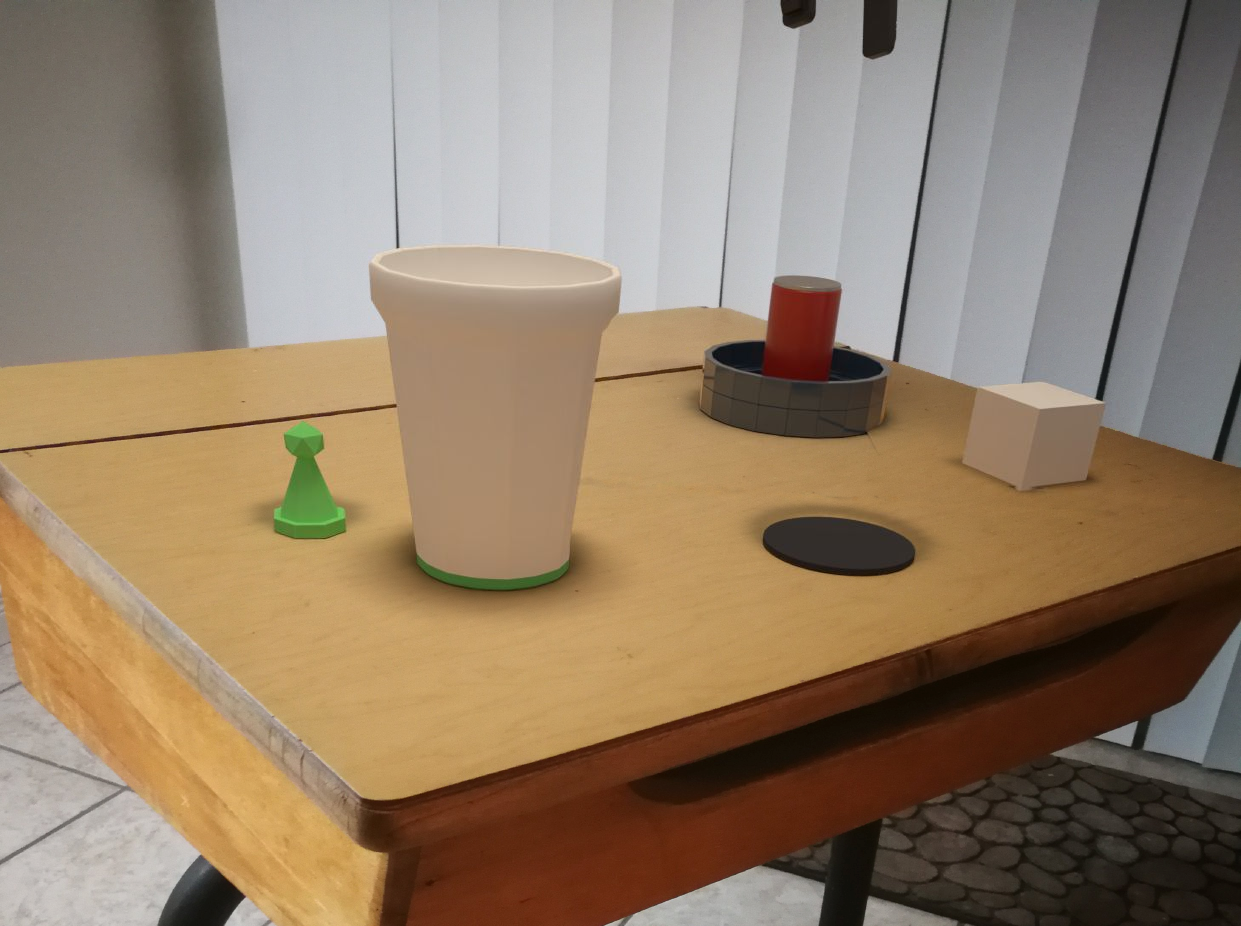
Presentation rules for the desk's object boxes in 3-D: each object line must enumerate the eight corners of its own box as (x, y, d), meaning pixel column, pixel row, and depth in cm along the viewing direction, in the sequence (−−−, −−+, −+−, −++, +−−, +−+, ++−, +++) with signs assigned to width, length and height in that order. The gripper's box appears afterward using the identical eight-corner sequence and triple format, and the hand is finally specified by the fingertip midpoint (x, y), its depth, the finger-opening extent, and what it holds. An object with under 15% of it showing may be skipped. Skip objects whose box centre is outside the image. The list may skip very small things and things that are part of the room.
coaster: (900, 527, 81) (901, 521, 81) (927, 579, 74) (928, 573, 74) (756, 518, 81) (757, 512, 81) (769, 570, 74) (770, 563, 73)
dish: (865, 402, 108) (875, 346, 106) (894, 451, 96) (905, 388, 94) (695, 392, 108) (700, 334, 105) (703, 439, 96) (709, 375, 93)
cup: (453, 622, 65) (451, 294, 57) (340, 545, 73) (324, 248, 65) (650, 579, 71) (674, 279, 63) (526, 513, 80) (532, 239, 71)
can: (819, 405, 104) (837, 277, 99) (827, 423, 99) (847, 289, 94) (754, 401, 104) (769, 273, 99) (759, 418, 99) (775, 285, 94)
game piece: (360, 532, 75) (355, 427, 72) (289, 543, 73) (281, 434, 70) (329, 510, 78) (324, 407, 75) (260, 520, 76) (251, 415, 73)
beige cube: (1083, 491, 90) (1106, 402, 87) (1018, 500, 88) (1040, 409, 84) (1022, 466, 95) (1042, 380, 91) (959, 473, 92) (977, 386, 89)
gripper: (824, -319, 75) (817, -5, 79) (961, -228, 85) (948, 50, 89) (728, -261, 81) (725, 31, 85) (866, -181, 90) (859, 79, 94)
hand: (839, 40), depth 87 cm, fingers open, 8 cm apart
